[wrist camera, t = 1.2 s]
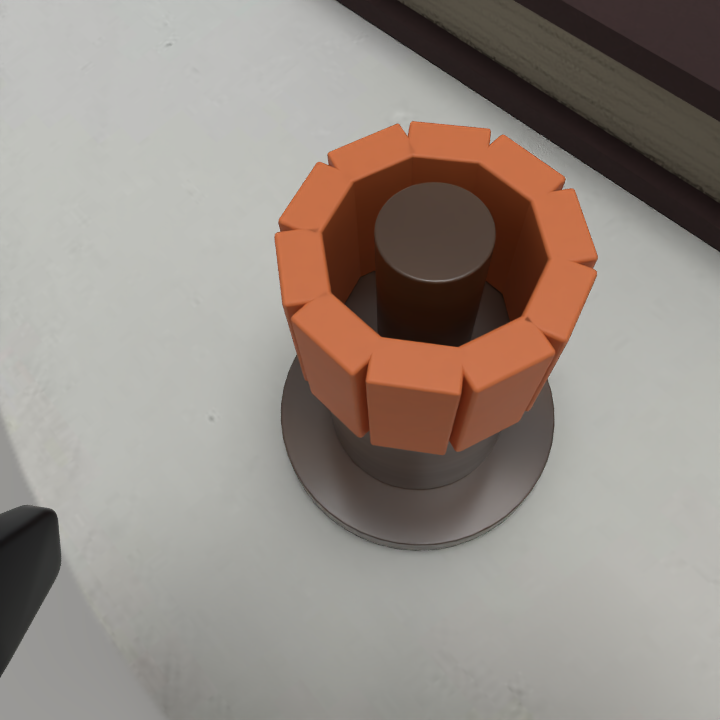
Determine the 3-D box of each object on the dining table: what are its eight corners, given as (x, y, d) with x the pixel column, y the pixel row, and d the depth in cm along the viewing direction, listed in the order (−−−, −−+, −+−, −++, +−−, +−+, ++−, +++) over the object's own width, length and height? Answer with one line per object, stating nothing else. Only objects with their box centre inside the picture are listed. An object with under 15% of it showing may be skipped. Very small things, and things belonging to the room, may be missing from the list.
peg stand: (540, 572, 21) (675, 487, 11) (259, 526, 22) (152, 411, 12) (554, 317, 25) (666, 81, 15) (311, 287, 26) (262, 45, 16)
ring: (547, 471, 16) (594, 413, 12) (272, 431, 17) (240, 365, 13) (560, 242, 19) (602, 138, 15) (321, 215, 19) (305, 109, 16)
